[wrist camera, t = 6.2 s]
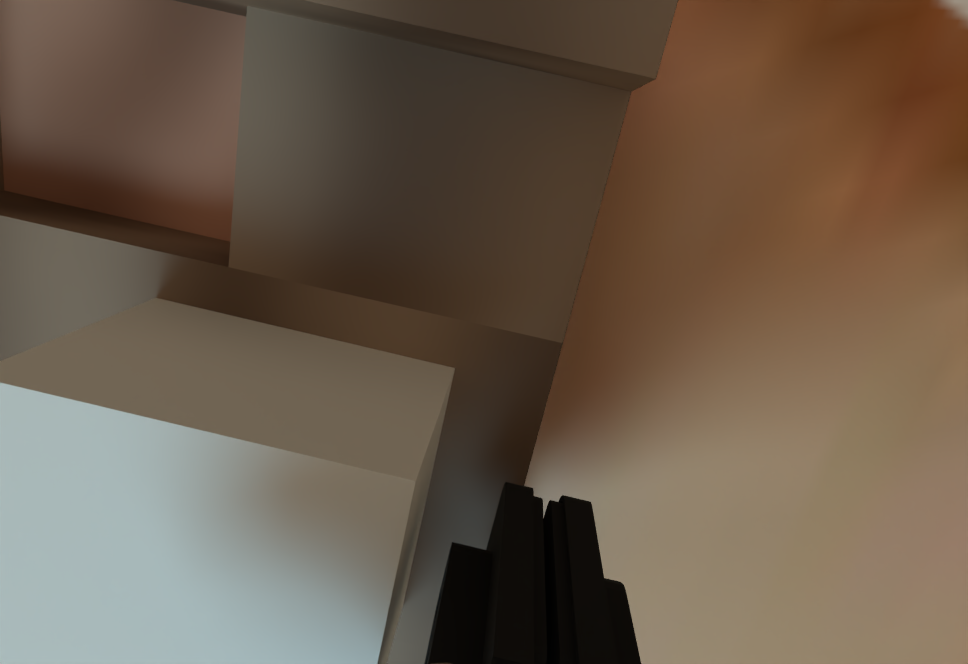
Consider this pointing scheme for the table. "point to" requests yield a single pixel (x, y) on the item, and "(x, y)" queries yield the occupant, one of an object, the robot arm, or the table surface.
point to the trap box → (328, 192)
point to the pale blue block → (210, 492)
